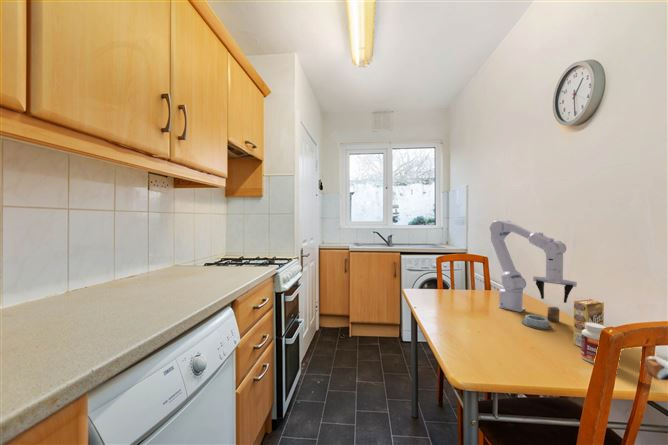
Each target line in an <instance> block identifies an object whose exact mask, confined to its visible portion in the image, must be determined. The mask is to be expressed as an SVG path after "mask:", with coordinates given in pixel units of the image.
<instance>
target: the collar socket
mask: <svg viewBox="0 0 668 445" xmlns="http://www.w3.org/2000/svg"><path fill="white" fill-rule="evenodd" d="M549 322H550V321H549V320H548V319H547V318H546V317H544V316H542V315H541V316H540V315H536V314H526V315H525V316H524V319H522V320H521V324H522V325H524V326H525V327H527V328H530V329H535V330H541V331H550V330H552V329H553V326H552V325H551V324H549Z"/></svg>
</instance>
